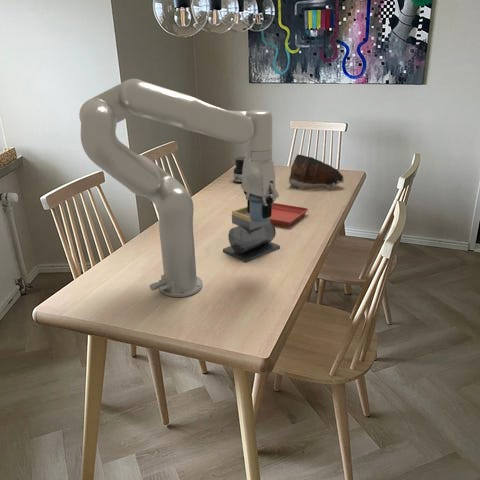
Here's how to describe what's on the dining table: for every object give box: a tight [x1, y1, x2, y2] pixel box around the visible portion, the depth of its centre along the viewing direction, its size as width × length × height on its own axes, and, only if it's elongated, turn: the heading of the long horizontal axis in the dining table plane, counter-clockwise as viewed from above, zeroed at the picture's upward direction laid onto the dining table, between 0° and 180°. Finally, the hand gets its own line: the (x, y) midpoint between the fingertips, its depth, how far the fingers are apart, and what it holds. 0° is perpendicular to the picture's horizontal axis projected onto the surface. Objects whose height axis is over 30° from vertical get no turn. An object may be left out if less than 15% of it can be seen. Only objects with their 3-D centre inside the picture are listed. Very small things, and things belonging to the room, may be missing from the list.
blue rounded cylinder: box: [249, 194, 269, 222], centre depth 141 cm, size 6×6×7 cm
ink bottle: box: [233, 156, 246, 185], centre depth 239 cm, size 10×9×12 cm
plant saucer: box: [270, 202, 309, 228], centre depth 192 cm, size 18×18×3 cm
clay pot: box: [288, 154, 345, 190], centre depth 227 cm, size 15×15×25 cm
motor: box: [222, 206, 281, 263], centre depth 162 cm, size 16×12×14 cm
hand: (259, 214), depth 142 cm, fingers closed on blue rounded cylinder, 5 cm apart
